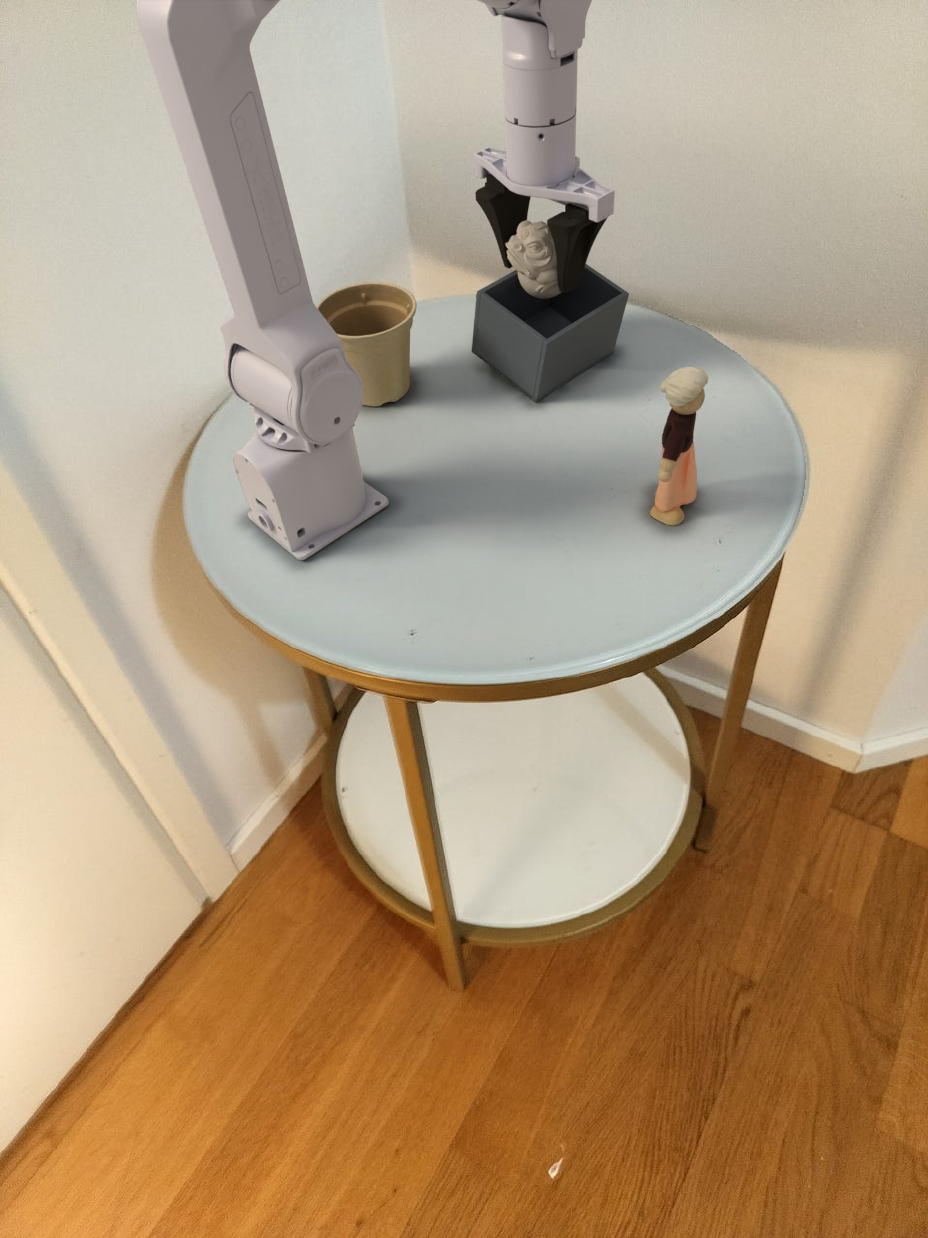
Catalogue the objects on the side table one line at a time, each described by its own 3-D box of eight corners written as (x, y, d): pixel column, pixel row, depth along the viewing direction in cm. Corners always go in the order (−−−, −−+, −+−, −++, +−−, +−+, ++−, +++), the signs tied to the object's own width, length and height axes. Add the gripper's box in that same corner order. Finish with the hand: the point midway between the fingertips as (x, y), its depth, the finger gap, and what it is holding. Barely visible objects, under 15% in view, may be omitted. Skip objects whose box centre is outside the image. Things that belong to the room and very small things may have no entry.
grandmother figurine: (695, 535, 68) (719, 401, 59) (646, 533, 69) (661, 399, 60) (694, 472, 73) (716, 339, 64) (648, 470, 74) (663, 338, 64)
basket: (536, 403, 81) (547, 343, 75) (452, 337, 86) (456, 275, 80) (613, 352, 86) (629, 293, 80) (530, 292, 90) (539, 231, 84)
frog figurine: (493, 284, 82) (494, 214, 76) (560, 268, 83) (566, 197, 78) (518, 321, 78) (521, 250, 73) (588, 303, 80) (596, 232, 74)
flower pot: (424, 415, 81) (413, 333, 75) (325, 420, 82) (306, 339, 76) (428, 359, 88) (419, 278, 81) (337, 364, 88) (320, 284, 82)
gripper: (644, 117, 67) (631, 283, 77) (511, 79, 74) (516, 235, 85) (582, 148, 64) (578, 316, 74) (451, 105, 71) (463, 263, 82)
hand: (541, 275), depth 79 cm, fingers open, 6 cm apart
